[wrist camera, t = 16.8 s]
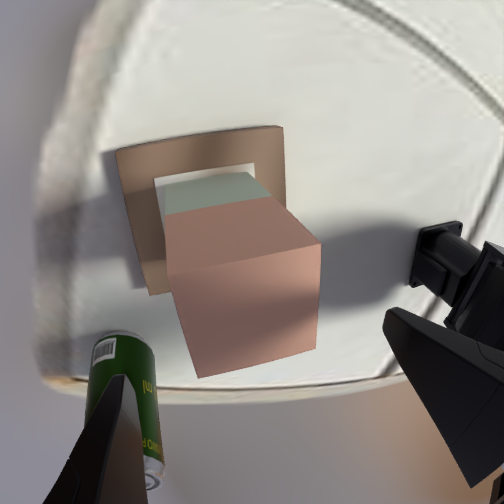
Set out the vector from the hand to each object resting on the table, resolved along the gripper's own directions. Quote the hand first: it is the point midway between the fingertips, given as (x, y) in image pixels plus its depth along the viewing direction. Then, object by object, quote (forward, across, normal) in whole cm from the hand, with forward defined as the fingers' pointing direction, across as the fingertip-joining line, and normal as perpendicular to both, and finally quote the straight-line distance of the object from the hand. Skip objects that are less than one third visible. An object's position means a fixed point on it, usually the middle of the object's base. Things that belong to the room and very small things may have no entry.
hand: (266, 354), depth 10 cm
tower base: (+13, 0, 0) cm, 13 cm away
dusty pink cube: (+7, 0, 0) cm, 7 cm away
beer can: (+13, +9, +11) cm, 19 cm away
